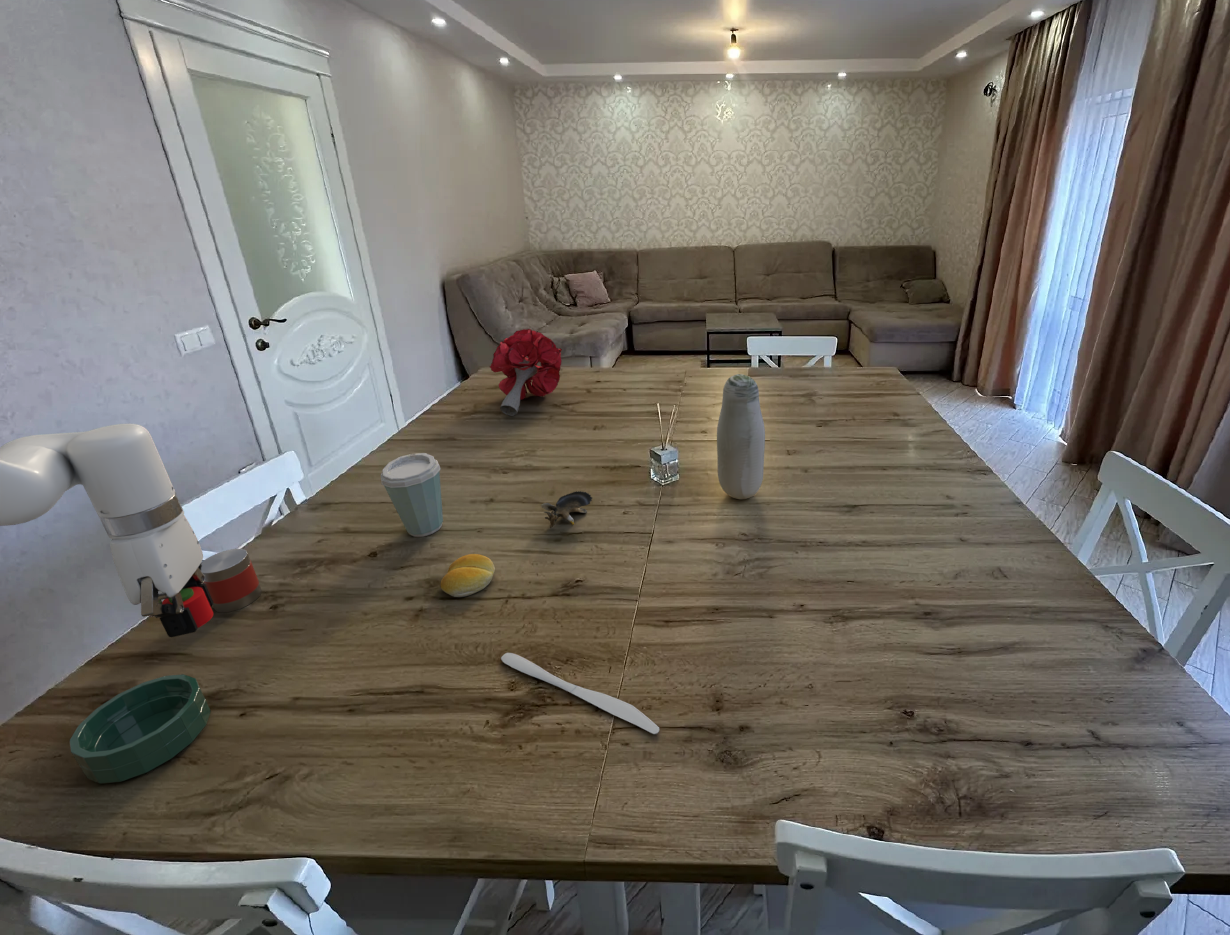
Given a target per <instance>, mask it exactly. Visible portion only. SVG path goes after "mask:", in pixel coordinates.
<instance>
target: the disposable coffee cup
mask: <svg viewBox="0 0 1230 935" xmlns="http://www.w3.org/2000/svg"><path fill="white" fill-rule="evenodd" d="M440 472H441V466H440V464H439V462H438V460H437V459H435V456H433V455H431V454H429V453H426V452H418V453H416V452H415V453H410V454H406V455H401V456H399V457H396V458H395V459H393V460H391V461H389V462H388V463H387V464H386V465H385V466H384V467H383V469H382V470H381V473H380V481H381V482H380V483H381V485H382V486H383V487H384V489H385V491H386V492H387V495H388V496H389V499H390V501H391V502H392V505H393V507H394V508H395V511H396V512H397V515H398V516H399V519H400V520H401V522H402V524H403V526H404V529H405V530H406V532H407V533H408V534H409V535H410V536H412V537H413V538H423V537H426V536H430V535H433V534H434V533H436V532H437V531H439V530H440V529H441V528H442V526H443V523H444V516H443V503H442V502H443V501H442V489H441V487H442V486H441V474H440Z"/></svg>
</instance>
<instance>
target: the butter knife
mask: <svg viewBox="0 0 1230 935" xmlns="http://www.w3.org/2000/svg"><path fill="white" fill-rule="evenodd" d="M500 659H501V661H502V663H504V664H505V665H507V666H509V667H511V668H512V669H515V670H517V671H519V672H521V673H524V674H526V675H528V676H530V677H533V678H536V679H538V680H541V681H544V682H546V683H548V684H551V685H552V686H555V687H558V688H560V689H562V690H564V691H566V692H567V693H568V692H569V693H570V694H572V695H574V696H576V697H578V698H580V699H582V700H584V701H585V702H587V703H589V704H592V705H593V706H595V707H598V708H599V709H600V710H603V711H605V712H607V713H609V714H610V715H613V716H615V717H618V718H620V719H622V720H624V721H626V722H629V723H631V724H633V725H635V726H637V727H639V728H641V729H643V730H645V731H647V732H649V733H650V734H652V735H657V734H658V733H659V732H660V727H659V726H658V725H657V724H656V723H655V722H654V721H653V720H651V719H650V718H649V717H648V716H647V715H645V713H643V712H642V711H640V710H639V709H638V708H637V707H635V706H634V705H633V704H630V703H629V702H626V701H624V700H621V699H619V698H617V697H614V696H611V695H609V694H606V693H604V692H600V691H596V690H592V689H588V688H585V687H582V686H579V685H576V684H575V683H571V682H568V681H566V680H564V679H562V678H560V677H558V676H555V675H554V674H552V673H550V672H548V670H545V669H544V668H542V667H541V666H539V665H538V664H536V663H534V662H532V661H530V660H529V659H527V658H525V657H523V656H521V655H518V654H516V653H513V652H506V653H504V654H503V655H502V656H501V657H500Z"/></svg>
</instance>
